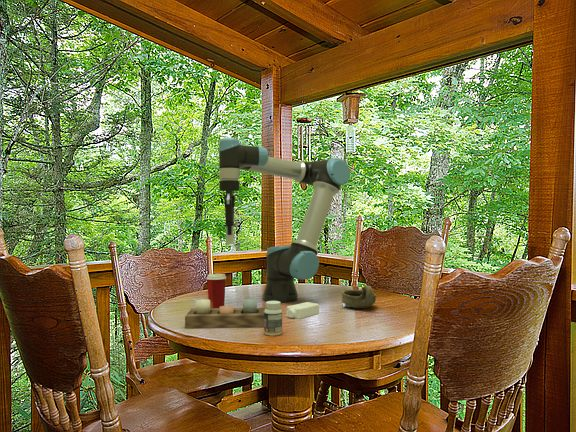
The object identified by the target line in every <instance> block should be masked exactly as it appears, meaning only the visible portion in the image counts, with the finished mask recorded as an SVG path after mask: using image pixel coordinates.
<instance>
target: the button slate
mask: <svg viewBox="0 0 576 432" xmlns="http://www.w3.org/2000/svg"><path fill="white" fill-rule="evenodd" d="M242 308H243V313H257V308H258V299H257V298H244V299H242Z"/></svg>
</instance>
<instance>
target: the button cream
mask: <svg viewBox="0 0 576 432" xmlns="http://www.w3.org/2000/svg"><path fill="white" fill-rule="evenodd" d="M195 309H196V314H210V300H209V299H208V298H202V299H195Z"/></svg>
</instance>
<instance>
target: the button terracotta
mask: <svg viewBox="0 0 576 432" xmlns="http://www.w3.org/2000/svg"><path fill="white" fill-rule="evenodd" d="M234 308H235V307H234V305H224V306H220V314H234Z"/></svg>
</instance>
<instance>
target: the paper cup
mask: <svg viewBox="0 0 576 432" xmlns="http://www.w3.org/2000/svg"><path fill="white" fill-rule="evenodd" d="M205 279H206V281H207V283H206V285H207V295H208V297H207V299H209V300H210V308H220V306H225V303H226V302H225V297H226V279H227V276H226V274H225V273H210V274H207V277H206V278H205Z"/></svg>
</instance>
